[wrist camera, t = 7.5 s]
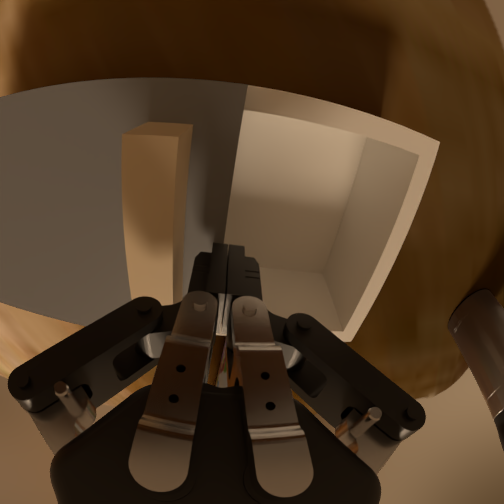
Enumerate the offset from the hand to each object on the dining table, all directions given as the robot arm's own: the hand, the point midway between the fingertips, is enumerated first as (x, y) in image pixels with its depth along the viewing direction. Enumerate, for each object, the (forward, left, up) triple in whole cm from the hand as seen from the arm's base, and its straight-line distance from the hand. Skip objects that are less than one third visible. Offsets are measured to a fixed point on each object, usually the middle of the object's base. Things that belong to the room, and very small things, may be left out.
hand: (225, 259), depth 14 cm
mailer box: (-1, 0, -10) cm, 10 cm away
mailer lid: (+10, 0, -2) cm, 10 cm away
